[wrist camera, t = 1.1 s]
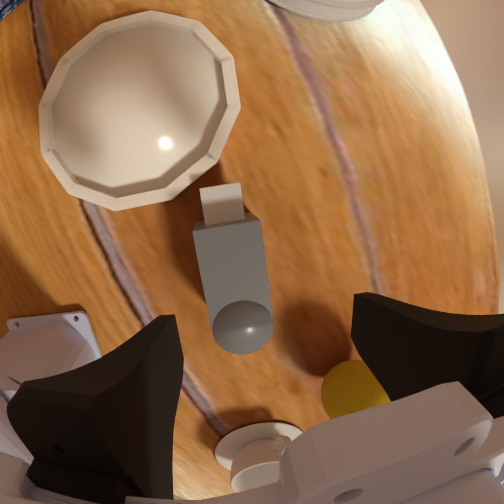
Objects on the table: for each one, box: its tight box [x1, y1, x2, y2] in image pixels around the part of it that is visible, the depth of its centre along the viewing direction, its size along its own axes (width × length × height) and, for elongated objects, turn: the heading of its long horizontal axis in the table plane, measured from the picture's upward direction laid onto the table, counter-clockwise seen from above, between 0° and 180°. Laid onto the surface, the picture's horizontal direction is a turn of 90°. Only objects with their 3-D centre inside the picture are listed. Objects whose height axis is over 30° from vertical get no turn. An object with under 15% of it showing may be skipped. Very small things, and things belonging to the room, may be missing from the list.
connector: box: [192, 182, 274, 354], centre depth 19 cm, size 4×10×4 cm, turn 8°
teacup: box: [215, 422, 303, 493], centre depth 25 cm, size 10×10×5 cm
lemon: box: [321, 360, 391, 419], centre depth 22 cm, size 6×6×8 cm
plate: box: [39, 10, 241, 211], centre depth 17 cm, size 14×14×2 cm
